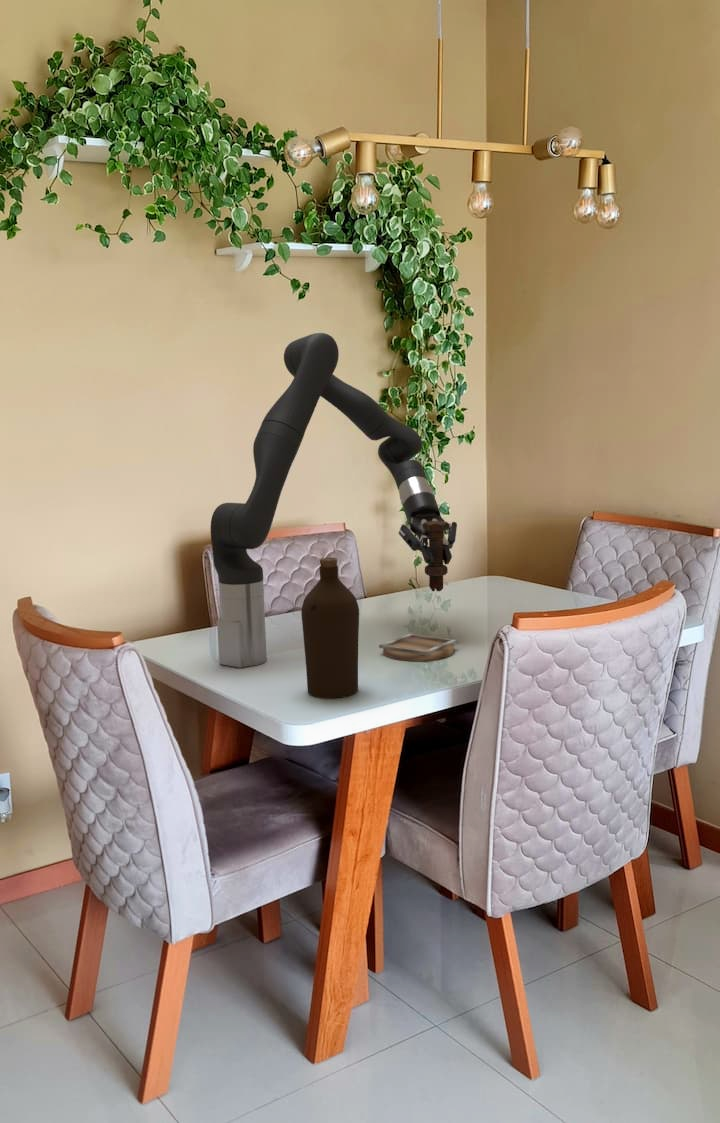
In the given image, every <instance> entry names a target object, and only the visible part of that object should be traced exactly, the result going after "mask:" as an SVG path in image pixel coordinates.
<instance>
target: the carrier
mask: <svg viewBox="0 0 720 1123" xmlns="http://www.w3.org/2000/svg"><path fill="white" fill-rule="evenodd" d="M457 643H458V640H457V639H452V638H446V637H438V636H431V635H423V634H418V633H408V634H406V635H403V636H400V637H398V638H394V639H391V640H389V641H386V642H384V643H381V644H378V648H380V649H382V651H383V655H384V656H385V657H387V658H389V659H392V660H397V661H403V662H430V661H438V660H443V659H447V658H448V657H451V656H453V654H455V648H454V647H455V645H456V644H457Z"/></svg>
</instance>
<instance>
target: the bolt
mask: <svg viewBox="0 0 720 1123" xmlns="http://www.w3.org/2000/svg"><path fill="white" fill-rule="evenodd" d="M444 521H445V520H444ZM444 521H428V522H424V523H423V530H428V537H429V539H428V547H430V549H431V552H432V555H433V558H434V562H433V564H432V565H428V564H427V565H425V567H424V574H425V575H426V576H428V582H429V583H428V587H429V588H430V590H431V592H435V591H436V592H441V591H443V589H444V576H446V575H447V574H448V572H449V571H448V569H449V568H448V566H447V565H446V564H444V561H443V537H444V534H445V532H444V531H446V530H448V529H449V522H448V521H445V522H444Z"/></svg>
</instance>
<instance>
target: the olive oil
mask: <svg viewBox="0 0 720 1123" xmlns="http://www.w3.org/2000/svg"><path fill="white" fill-rule="evenodd" d="M319 564H320V566H319V580H318V582H316V584H315V585H314V586H313V588H312V589H311V590H310V591H309V592H308V593H307V595H306V596H305V597H304V599H303V602H302V605H301V614H300V615H301V624H302V625H301V626H302V632H303V633H302V634H303V646H304V658H305V669H306V671H305V672H306V686H307V688H306V689H307V692H308V693H307V694H309V695H310V696H312V697H316V698H321V699H337V698H338V699H339V698H346V697H350V696H352V695H354V694H356V693H358V691H359V631H360V630H359V629H360V608H359V603H358V600H357V598H356V596H355V595H354V593H352V591H351V590H350V589H349V588H347V586H346V585H345V584H344V583H343V582H342V581H341V580H340V578H339V565H338V558H336V557H322V558H320V559H319Z"/></svg>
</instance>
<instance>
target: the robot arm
mask: <svg viewBox="0 0 720 1123" xmlns="http://www.w3.org/2000/svg"><path fill="white" fill-rule="evenodd" d="M339 352H340V351H339V347H338V344H337V341H336V340H335V339H334V338H333V336H331V335H330V334H328V333H325V332H317V333H312V334H309V335H306V336H303V337H300V338H298V339H295V340H293V341H291V342H290V343H289V344H288V345H287V346H286V347H285V350H284V353H283V361H284V365H285V367H286V370H287V371H288V372H289V374H290V375H291V376H292V377H293V380H292V382H291V383H290V384H289V386H288V387H287V389H285V391H284V392H283V393H282V395H280V397H279V398H278V399H277V400H276V401H275V403H274V404H273V405H272V406H271V407H270V409H269V411H268V412H267V413H266V415H265V416H264V418H263V420H262V422H261V423H260V427H259V429H258V431H257V434H256V436H255V438H254V441H253V448H252V453H253V455H252V456H253V460H254V461H253V462H254V468H255V480H254V483H253V487H252V490H251V491H250V492H251V493H250V494H249V497H248V498H247V500H246V502H245V503H241V502H239V503H238V502H223V503H221V504H219V505H218V506H217V507H216V508H215V509H214V511H213V513H212V516H211V519H210V540H211V541H210V542H211V550H212V551H211V552H212V561H213V566H214V570H215V571H216V573H217V580H218V594H219V596H218V598H219V599H218V600H219V612H220V613H219V615H220V616H219V617H220V618H217V620H216V624H217V626H216V628H217V644H218V645H217V646H218V647H217V648H218V661H219V662H218V663H219V665H224V666H229V667H234V668H238V669H240V668H245V667H253V666H258V665H261V664H264V663H266V662H267V660H268V657H267V656H268V655H267V635H266V634H267V632H266V612H265V611H266V609H265V607H266V606H265V590H264V589H265V588H264V569H263V567H262V565H261V564H259V563H258V562H256V561H255V560H254V559H252V558H251V556H250V555H249V553H248V551H247V550H255V549H258V548H259V547H261V546H262V545H263V544H264V543H265V541H266V539H267V538H268V535H269V533H270V531H271V527H272V525H273V521H274V517H275V516H276V515H275V514H276V510H277V507H278V504H279V501H280V496H281V495H282V491H283V488H284V486H285V482H286V481H287V478H288V475H289V472H290V470H291V467H292V466H293V463H294V461H295V458H296V456H297V454H298V451H299V449H300V447H301V444H302V442H303V439H304V436H305V433H306V431H307V429H308V426H309V423H310V422H311V420H312V417H313V414H314V412H315V409H316V407H317V405H318V402H319V400H320V399H321V398H322V399H324V400H325V401H327V403H329V404H331V406H334V408H336V409H337V410H338V411H340V412H341V413H342V414H343V415H344V416H346V417H347V418H348V419H349V421H351V423H353V424H354V426H356V427H357V428H358V429H359V431H361V432H362V433H363V434H364V435H365V436H366V438H368V439H369V440H371V441H379V440H382V439H385V438H386V439H385V440H383V441H381V443H380V444H379V446H378V450H377V455H378V459H380V461H381V462H382V464H384V466H385V467H386V468H387V470H388V471H389V472H390V474H391V475H392V477H393V479H394V481H395V485H396V486H397V490H398V494H399V500H400V504H401V506H402V509H403V512H404V515H405V519H406V521H407V523H408V524H401V526H400V528H399V531H398V535H399V536H400V537H401V538H402V540H403V541H404V542H405V543H406V545H408V547H409V548H410V549H411V550H412V552H413V551H414V552H416V551H419V552H420V553H421V554H422V557H423V561H424V562H425V564H427V565H432V564H433V562H434V558H433V555H432V552H431V549H430V547H429V537H428V530H423V523H424V522H428V521H444V522H446V521H445V520H444V518H443V517H442V516H441V511H440V509H439V505H438V503H437V500H436V497H435V494H434V491H433V488H432V487H431V485H430V482H429V481H428V478H427V476H426V472H425V469H424V467H423V465H422V464H421V463H420V461H417V460H415V459H412V458H414V457H415V456H417V455H418V454H419V453H420V452H421V451H422V449H423V440H422V438H421V436H420V434H419V433H418V432H417V431H416V430H414V429H413V428H412V427H410V426H408V425H407V424H405V423H403V422H401V421H399V420H397V419H395V418H394V417H392V415H389V414H388V412H386V411H385V410H384V408H383V407H382V406H381V405H380V404H379V403H378V402H376V400H374V398H372V397H370V396H369V395H368V394H366V393H365V392H363V391H361V390H360V389H359V388H356V387H354V386H353V385H350V384H348V383H347V382H345V381H343V380H341V379H340V378H339V377H337V376H336V375H334V372H335V370H336V368H337V365H338V361H339V355H340V354H339ZM448 523H449V522H448ZM457 528H458V523H457V521H452V522H451V523H449V529H448V530H445V532H446V535H447V538H446V535H445V533H444V537H443V565H449V564H450V562H451V561H452V558H453V557H452V556H453V555H452V553H451V550H452V549H453V546H454V544H455V542H456V536H457ZM450 549H451V550H450Z"/></svg>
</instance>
